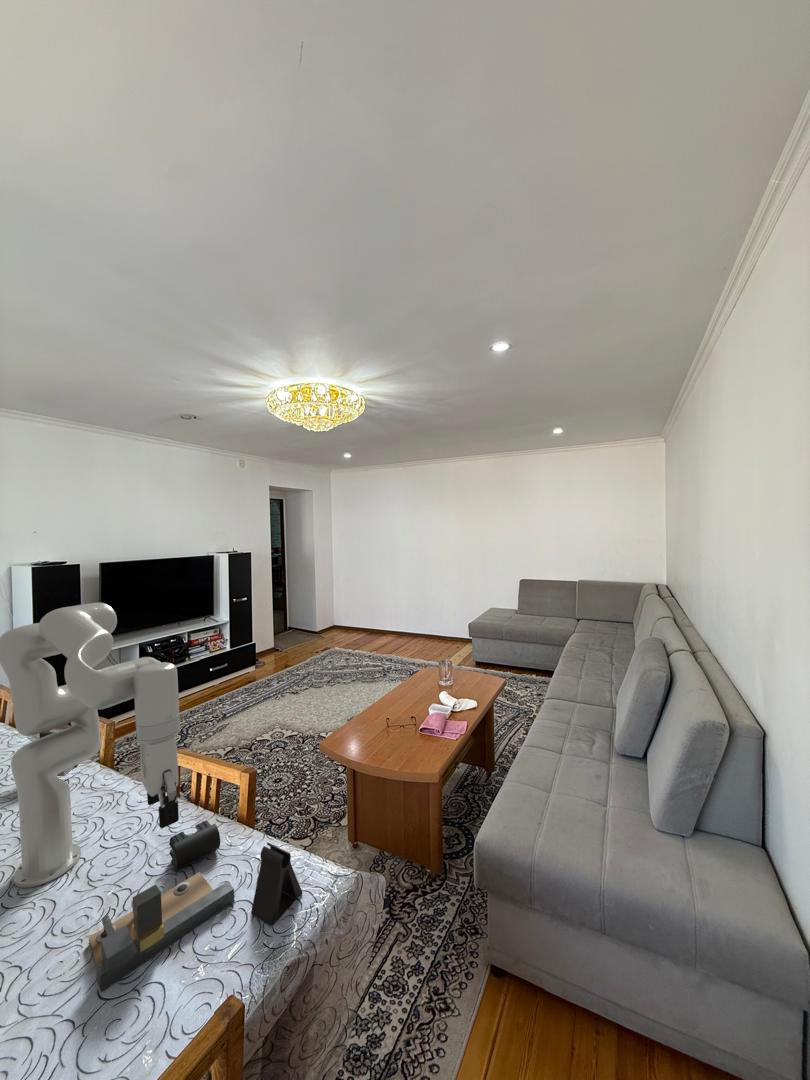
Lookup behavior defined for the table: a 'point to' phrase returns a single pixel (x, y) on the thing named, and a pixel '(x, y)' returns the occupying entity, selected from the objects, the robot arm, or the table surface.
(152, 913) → the block
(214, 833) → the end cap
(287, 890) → the black triangular stand
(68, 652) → the robot arm
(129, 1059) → the table surface
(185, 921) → the rail
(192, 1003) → the table surface
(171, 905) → the plate
